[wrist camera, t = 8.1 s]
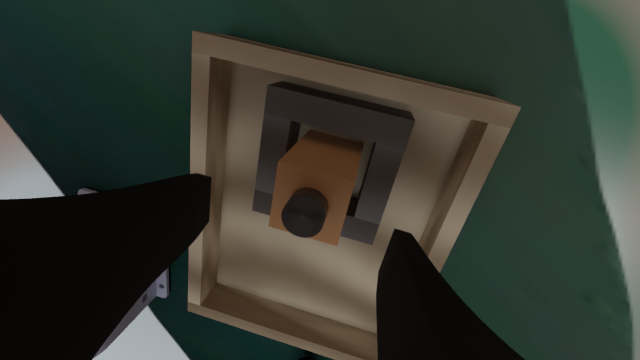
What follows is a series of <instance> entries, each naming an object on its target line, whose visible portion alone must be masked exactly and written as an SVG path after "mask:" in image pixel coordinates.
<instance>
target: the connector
mask: <svg viewBox="0 0 640 360" xmlns="http://www.w3.org/2000/svg"><path fill="white" fill-rule="evenodd" d="M363 144H364V143H361V142H357V141H353V140H349V139H345V138H341V137H337V136H334V135H330V134H326V133H322V132H318V131H314V130H309V131H308V132H307V133H306V134H305V135H304V136H303V137H302V138H301V139H300V140H299V141H298V142H297V143H296V144H295V145H294V146H293V147H292V148H291V149H290V150H289V151H288V152H287V153H286V154H285V155H284V156H283V157H282V158H281V159H280V160H279V161H278V166H277V173H276V179H275V186H274V192H273V199H272V206H271V212H270V219H269V225H268V226H269V227H272V228H276V229H279V230H283V231H286V232H289V233H291V234H293V235H295V236H298V237H302V238H310V239H313V240H317V241H320V242H324V243H327V244H331V245H334V246H337V245H338V241H339V238H340V234H341V231H342V227H343V223H344V220H345V216H346V213H347V209H348V206H349V202H350V198H351V195H352V191H353V188H354V184H355V180H356V176H357V171H358V167H359V162H360V158H361V153H362V149H363Z"/></svg>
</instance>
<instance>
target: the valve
mask: <svg viewBox="0 0 640 360" xmlns="http://www.w3.org/2000/svg"><path fill="white" fill-rule="evenodd" d="M298 360H312V359H311V357H309V356H308V357H302V358H299V359H298Z"/></svg>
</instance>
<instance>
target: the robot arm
mask: <svg viewBox="0 0 640 360" xmlns="http://www.w3.org/2000/svg"><path fill="white" fill-rule="evenodd" d="M211 180H212V177H210V176H206V175H203V174H199V173H193V174H186V175H181V176H176V177H172V178H167V179H163V180H158V181H154V182H149V183H145V184H140V185H135V186H130V187H125V188H120V189H114V190H109V191H103V192H97V191H94V190H90V189H87V188H82V189H80V190H78V195H72V196H60V197H47V198H32V199H9V200H0V360H92V359H93V358H94V357H96V356H97V355H99V354H100V353H101V352H103V351H104V350H105V349H106V348H107V347H108V346H109V345H110V344H111V343H112V342H113V341H114V340H115V339H116V338H117V337H118V336H119V335H120V334H121V333H122V332H123V331H124V329H125V328H126V327H127V326H128V325H129V324H130V323H131V322H132V321H133V320H134V319H135V318H136V317H137V316H138V314H140V312H141V311H142V310H143V309H144V308H145V307H146V306H147V305H148V304H149V303H150V302H151V301H152V300H153V299H154V298H155V297H156V296H159V297H162V298H166V297H167V296H168V295H169V266H170V265H171V264H172V263H173V262H174V261H175V260H176V259H177V258H178V257H179V256H180V255H181V254H182V253H183V252H184V251H185V250H186V249H187V248H188V247H189V246H190V245H191V244H192V243H193V242H194V241H195V240H196V238H197V237H198V236H199V235H200V233H201V232H202V231H203V229H204V228H205V226H206V225H207V224H208V222H209V218H210V199H211ZM376 318H377V351H378V360H525V359H524V358H522V357H521V356H520V355H519V354H518V353H516V352H515V351H514V350H513V349H512V348H511V347H509V346H508V345H507V344H506V343H505V342H504V341H503V340H502V339H501V338H500V337H498V336H497V335H496V334H495V333H494V332H493V331H492V330H491V329H490V328H489V327H488V326H487V325H486V324H485V323H483V322H482V321H481V320H480V319H479V317H478V316H477V315H476V314H475V313H474V312H473V311H472V310H471V309H470V308H469V307H468V306H467V305H466V304H465V303H464V302H463V301H462V299H461V298H460V297H459V296H458V295H457V294H456V293H455V291H454V290H453V289H452V288H451V287H450V285H449V284H448V283H447V282H446V281H445V279H444V278H443V277H442V275H441V274H440V273H439V271H438V270H437V269H436V267H435V266H434V265H433V263H432V262H431V261H430V259H429V258H428V256H427V255H426V253H425V252H424V251H423V249H422V248H421V246H420V245H419V243H418V242H417V240H416V239H415V238H414V236H413V235H412V234H411V233H409V232H406V231H402V230H399V229H395V228H394V231H393V234H392V236H391V239H390V242H389V244H388V247H387V250H386V252H385V255H384V258H383V260H382V263H381V266H380V268H379V271H378V280H377V290H376Z"/></svg>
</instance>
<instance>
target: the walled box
mask: <svg viewBox="0 0 640 360" xmlns="http://www.w3.org/2000/svg"><path fill="white" fill-rule="evenodd" d="M520 109H521V107H520V106H517V105H515V104H512V103H509V102H507V101H504V100H502V99H499V98H496V97H493V96H489V95H484V94H480V93H476V92H471V91H467V90H463V89H458V88H454V87H450V86H445V85H441V84H437V83H432V82H428V81H424V80H419V79H415V78H411V77H406V76H402V75H398V74H394V73H389V72H385V71H381V70H376V69H372V68H368V67H363V66H359V65H355V64H350V63H346V62H342V61H337V60H333V59H329V58H324V57H320V56H316V55H311V54H307V53H303V52H298V51H294V50H290V49H285V48H281V47H277V46H272V45H268V44H264V43H259V42H255V41H251V40H246V39H242V38H238V37H233V36H229V35H224V34H215V33H207V32H199V31H192V78H191V141H190V174H193V173H199V174H203V175H206V176H210V177H212V180H211V199H210V218H209V222H208V224H207V225H206V226H205V228H204V229H203V231H202V232H201V233H200V235H199V236H198V237H197V238H196V240H195V241H194V242H193V243H192V244H191V245H190V246H189V267H188V311H190V312H193V313H196V314H199V315H202V316H205V317H208V318H211V319H214V320H217V321H220V322H223V323H226V324H229V325H232V326H235V327H238V328H241V329H244V330H247V331H250V332H253V333H256V334H259V335H262V336H265V337H268V338H271V339H274V340H277V341H280V342H283V343H286V344H289V345H292V346H295V347H298V348H301V349H304V350H307V351H310V352H314V353H317V354H320V355H323V356H326V357H329V358H332V359H335V360H378V351H377V318H376V290H377V280H378V271H379V268H380V266H381V263H382V260H383V258H384V255H385V252H386V250H387V247H388V244H389V242H390V239H391V236H392V234H393V231H394V228H395V229H399V230H402V231H406V232H409V233H411V234H412V235H413V236H414V238H415V239H416V240H417V242H418V243H419V245H420V246H421V248H422V249H423V251H424V252H425V253H426V255H427V256H428V258H429V259H430V261H431V262H432V263H433V265H434V266H435V267H436V269H437V270H438V271H439V273H440V271H441V269H442V267H443V265H444V263H445V261H446V259H447V257H448V255H449V253H450V251H451V249H452V247H453V245H454V243H455V241H456V239H457V237H458V235H459V233H460V231H461V229H462V227H463V225H464V223H465V221H466V218H467V216H468V214H469V212H470V210H471V208H472V206H473V204H474V202H475V200H476V198H477V196H478V194H479V192H480V190H481V188H482V186H483V184H484V182H485V180H486V178H487V176H488V174H489V172H490V170H491V168H492V166H493V164H494V162H495V160H496V157H497V155H498V153H499V151H500V149H501V147H502V145H503V143H504V141H505V139H506V137H507V135H508V133H509V131H510V129H511V127H512V125H513V123H514V121H515V119H516V117H517V115H518V113H519V111H520ZM309 130H314V131H318V132H322V133H326V134H330V135H334V136H337V137H341V138H345V139H349V140H353V141H357V142H361V143H364V144H363V149H362V153H361V158H360V162H359V167H358V171H357V176H356V180H355V184H354V188H353V191H352V195H351V198H350V202H349V206H348V209H347V213H346V216H345V220H344V223H343V227H342V231H341V234H340V238H339V241H338V245H337V246H334V245H331V244H327V243H324V242H320V241H317V240H313V239H310V238H302V237H298V236H295V235H293V234H291V233H289V232H286V231H283V230H279V229H276V228H272V227H269V226H268V225H269V219H270V212H271V206H272V199H273V192H274V186H275V179H276V173H277V166H278V161H279V160H280V159H281V158H282V157H283V156H284V155H285V154H286V153H287V152H288V151H289V150H290V149H291V148H292V147H293V146H294V145H295V144H296V143H297V142H298V141H299V140H300V139H301V138H302V137H303V136H304V135H305V134H306V133H307V132H308V131H309Z"/></svg>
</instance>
